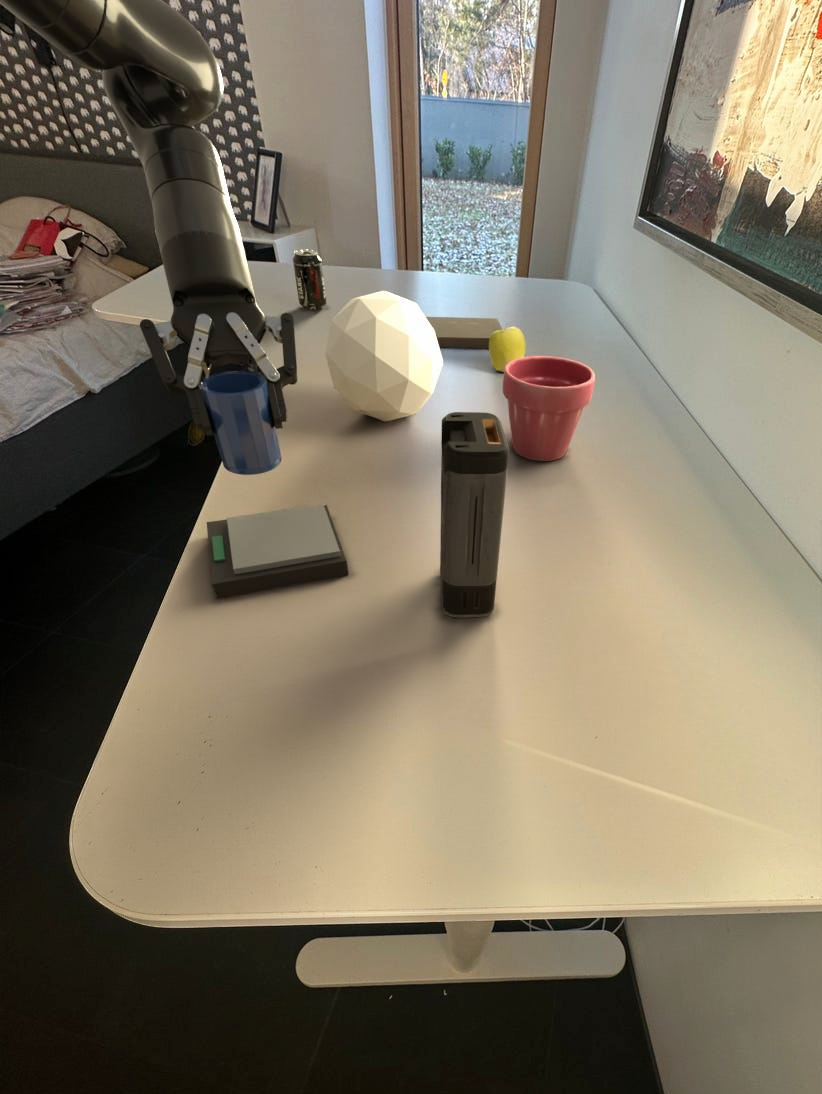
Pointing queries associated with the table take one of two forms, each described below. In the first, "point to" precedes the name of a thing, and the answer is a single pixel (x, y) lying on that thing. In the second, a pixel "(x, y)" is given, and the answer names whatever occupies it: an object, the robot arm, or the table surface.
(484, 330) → the hardcover book
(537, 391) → the flower pot
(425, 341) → the geometric sculpture
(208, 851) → the table surface
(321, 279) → the beverage can
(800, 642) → the table surface
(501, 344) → the apple
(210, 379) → the cup
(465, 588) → the electronic device
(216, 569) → the kitchen scale
